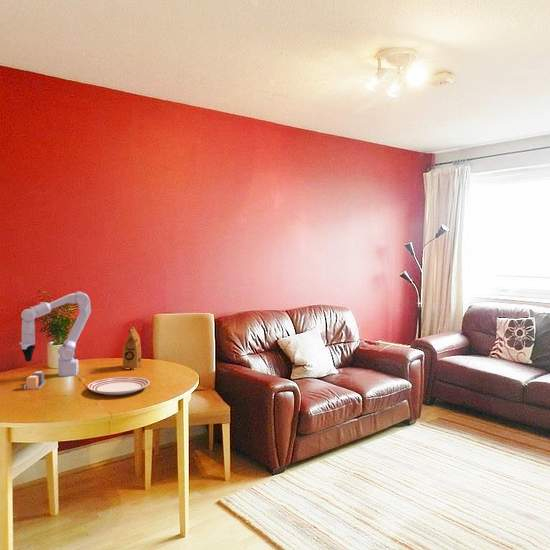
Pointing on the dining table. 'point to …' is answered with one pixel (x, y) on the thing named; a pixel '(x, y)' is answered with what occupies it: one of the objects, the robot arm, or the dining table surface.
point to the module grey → (39, 376)
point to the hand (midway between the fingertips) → (28, 361)
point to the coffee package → (132, 350)
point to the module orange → (32, 382)
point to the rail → (38, 385)
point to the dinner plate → (118, 385)
